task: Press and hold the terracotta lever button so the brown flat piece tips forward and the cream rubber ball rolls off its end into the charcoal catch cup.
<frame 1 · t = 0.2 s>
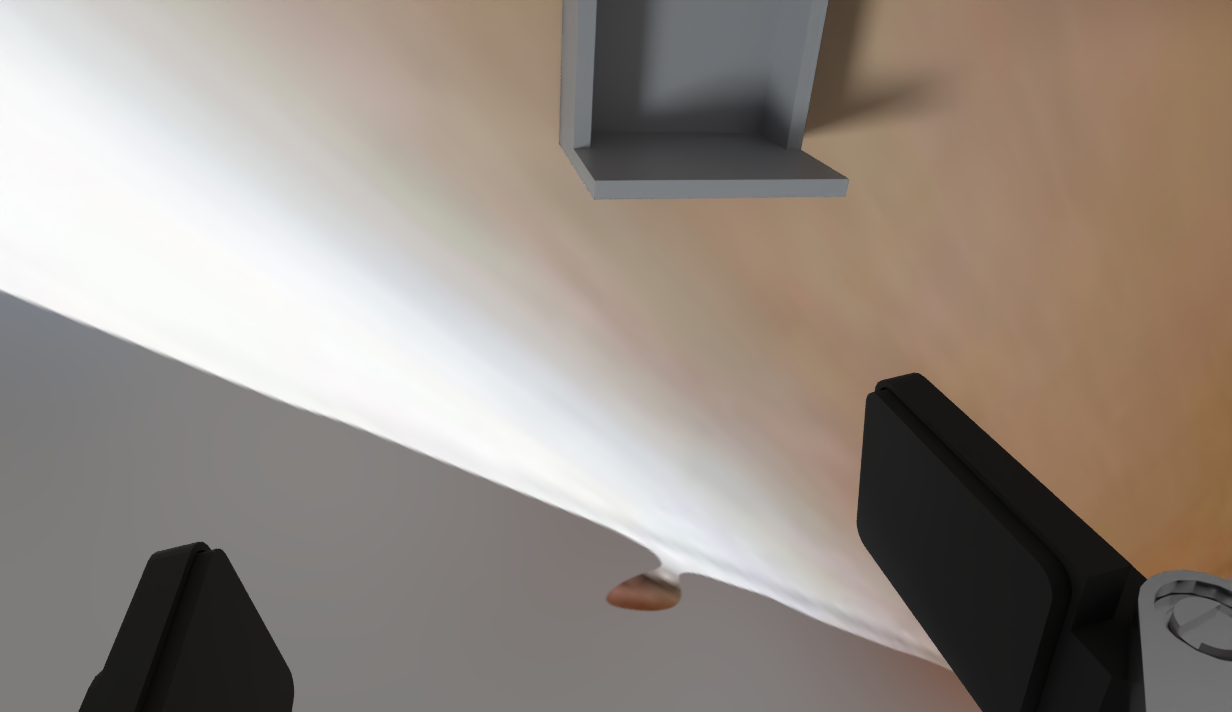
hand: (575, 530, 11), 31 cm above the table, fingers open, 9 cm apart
catch cup: (677, 27, 37), on the table
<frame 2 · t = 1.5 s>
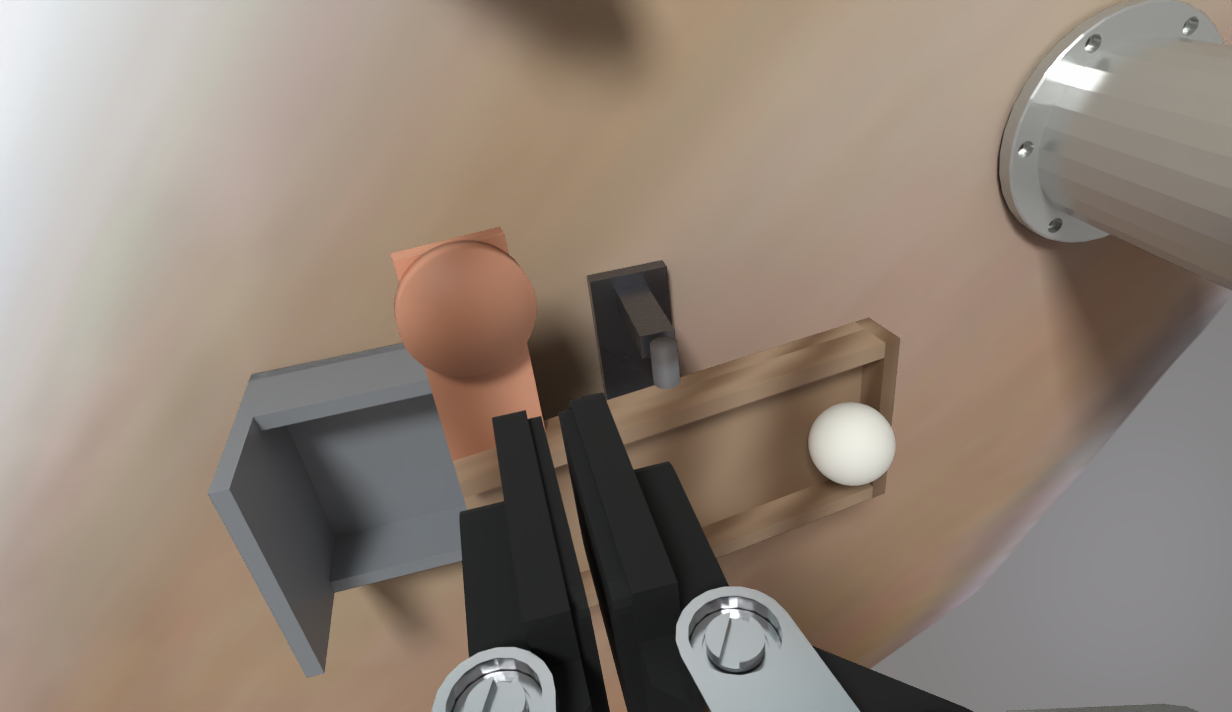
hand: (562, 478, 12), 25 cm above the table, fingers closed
catch cup: (401, 440, 40), on the table
pivot stand: (638, 386, 42), on the table
brown flat piece: (679, 411, 34), point 8 cm above the table, hinge at -8.0°, touching ball
ball: (851, 443, 36), point 9 cm above the table, tilted 17°, touching brown flat piece
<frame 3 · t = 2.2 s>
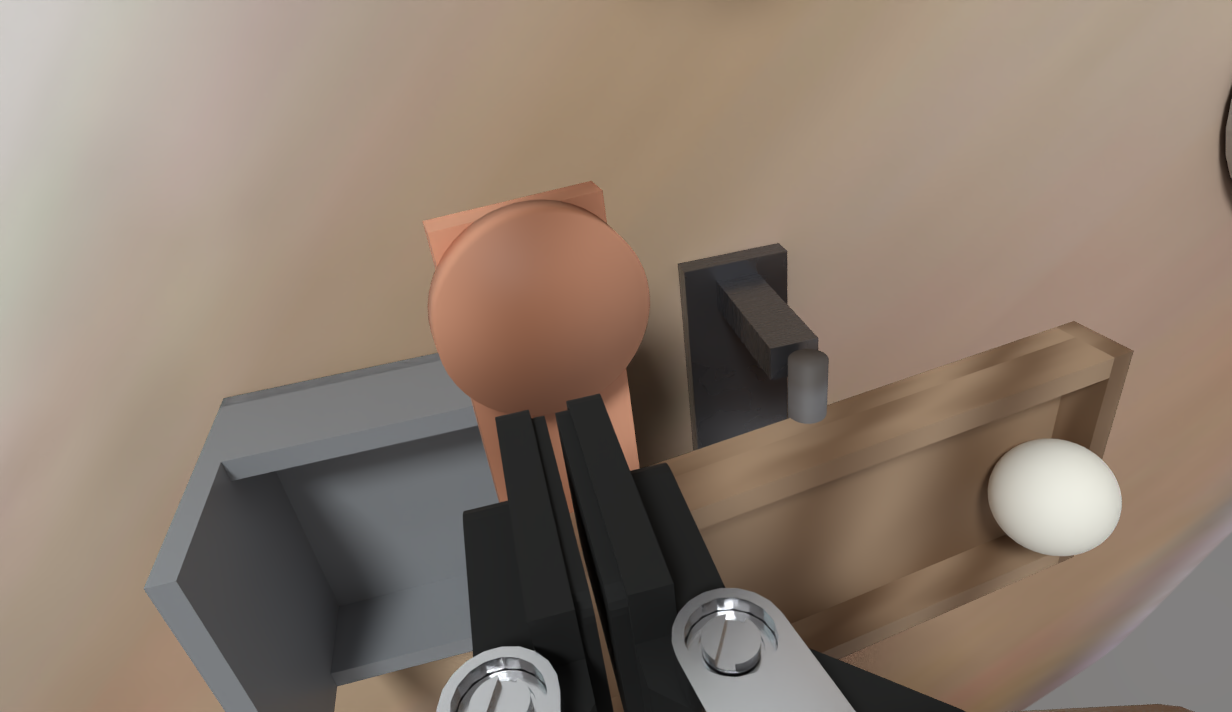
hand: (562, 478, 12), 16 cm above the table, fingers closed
catch cup: (426, 482, 31), on the table
pivot stand: (735, 410, 32), on the table
brown flat piece: (825, 455, 24), point 8 cm above the table, hinge at -8.0°, touching ball
ball: (1052, 496, 26), point 9 cm above the table, tilted 17°, touching brown flat piece
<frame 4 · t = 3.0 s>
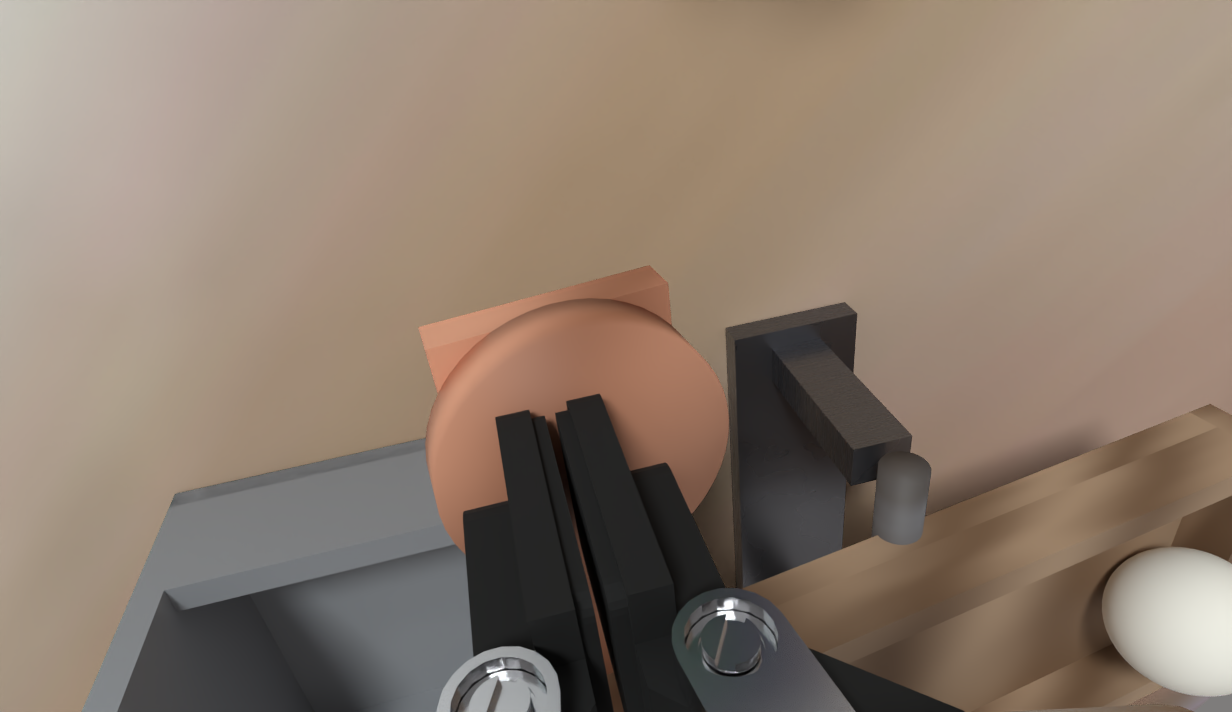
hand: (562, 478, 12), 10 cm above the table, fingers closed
catch cup: (421, 580, 26), on the table
pivot stand: (784, 490, 27), on the table
brown flat piece: (920, 581, 19), point 8 cm above the table, hinge at -7.9°, touching gripper
ball: (1185, 619, 21), point 9 cm above the table, tilted 17°
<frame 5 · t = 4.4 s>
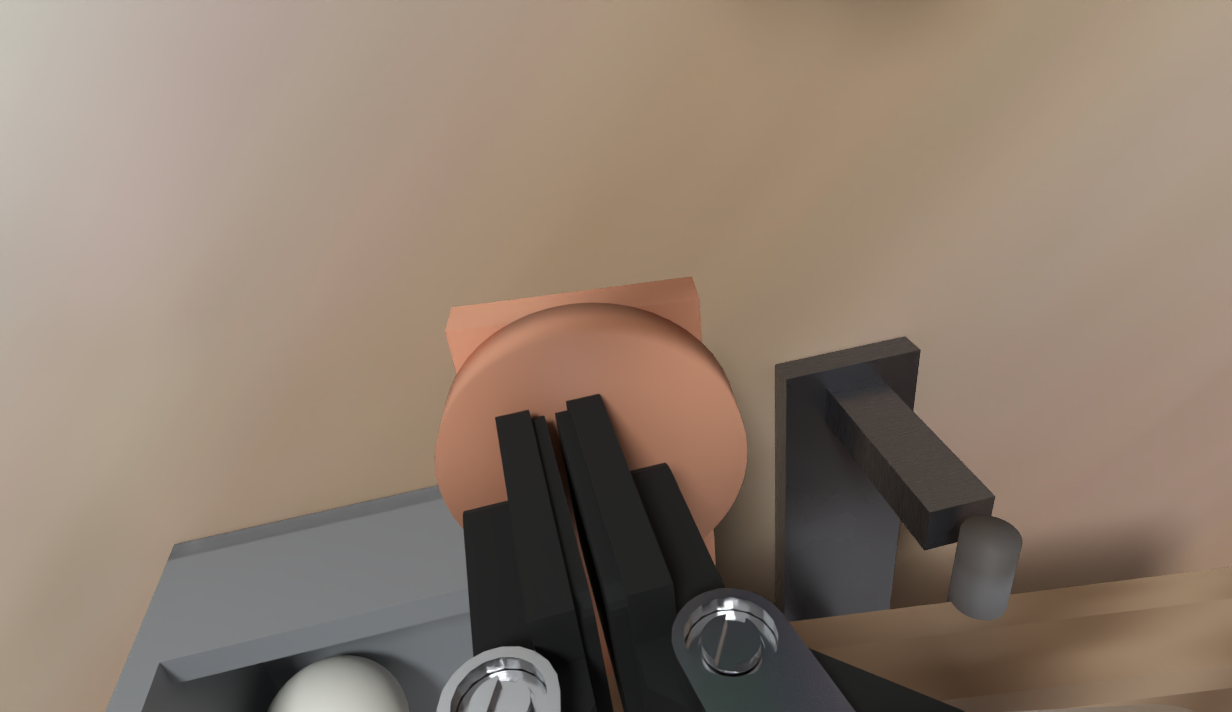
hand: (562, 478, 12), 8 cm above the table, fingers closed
catch cup: (440, 631, 24), on the table
pivot stand: (831, 534, 25), on the table
brown flat piece: (994, 663, 17), point 8 cm above the table, hinge at 8.6°, touching gripper
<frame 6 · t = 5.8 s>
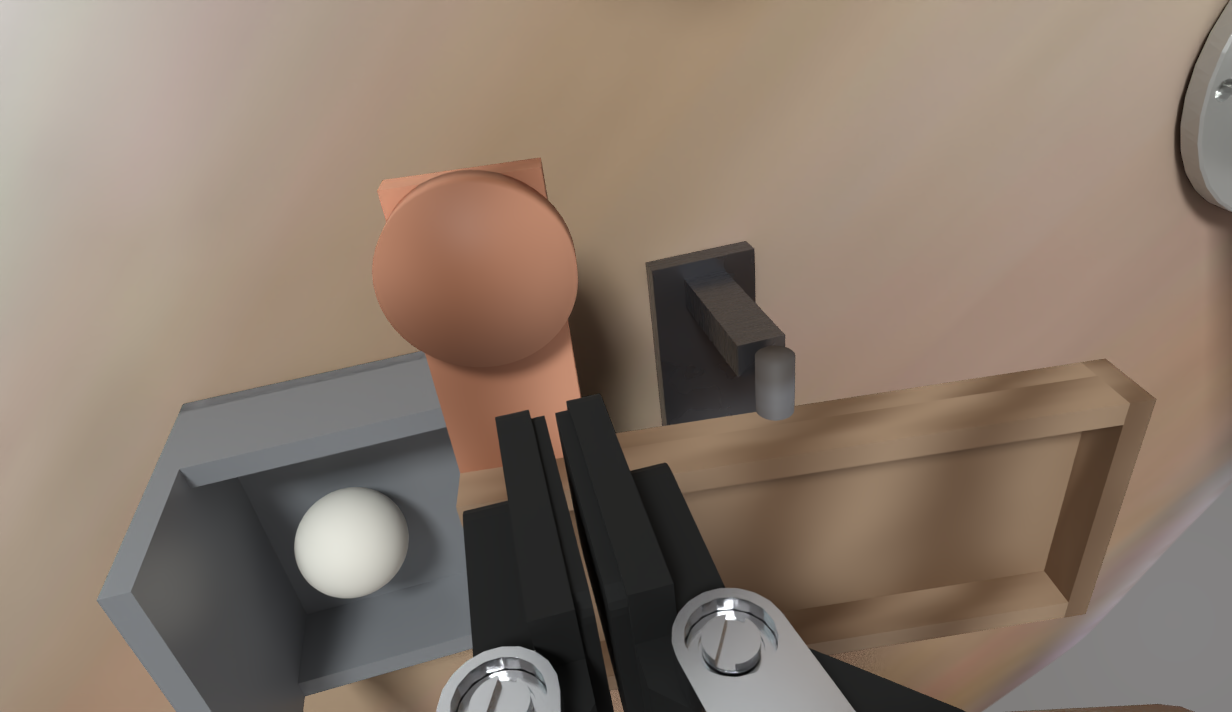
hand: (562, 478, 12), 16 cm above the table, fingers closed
catch cup: (394, 486, 30), on the table
pivot stand: (706, 409, 32), on the table
brown flat piece: (787, 454, 24), point 8 cm above the table, hinge at 8.6°
ball: (352, 541, 28), point 3 cm above the table, tilted 31°, touching catch cup
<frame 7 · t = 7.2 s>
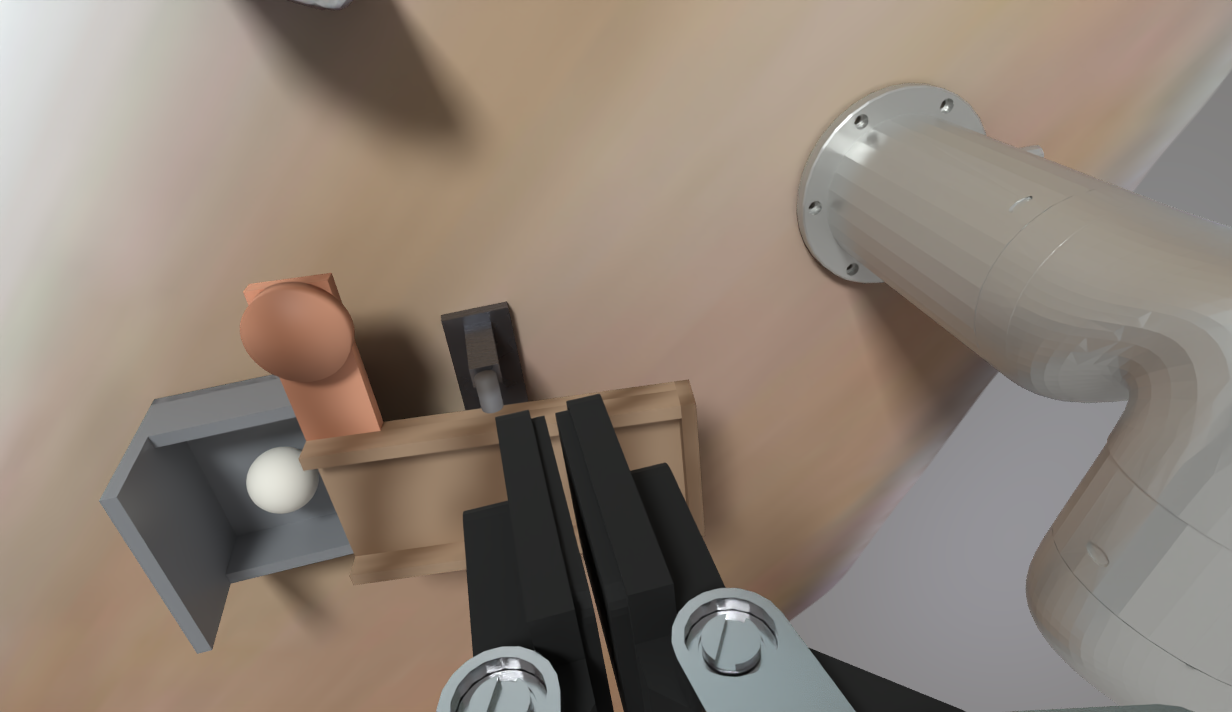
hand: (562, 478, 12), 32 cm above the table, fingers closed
catch cup: (290, 453, 47), on the table
pivot stand: (498, 407, 49), on the table
brown flat piece: (498, 433, 41), point 8 cm above the table, hinge at 8.6°
ball: (283, 479, 45), point 3 cm above the table, tilted 10°, touching catch cup
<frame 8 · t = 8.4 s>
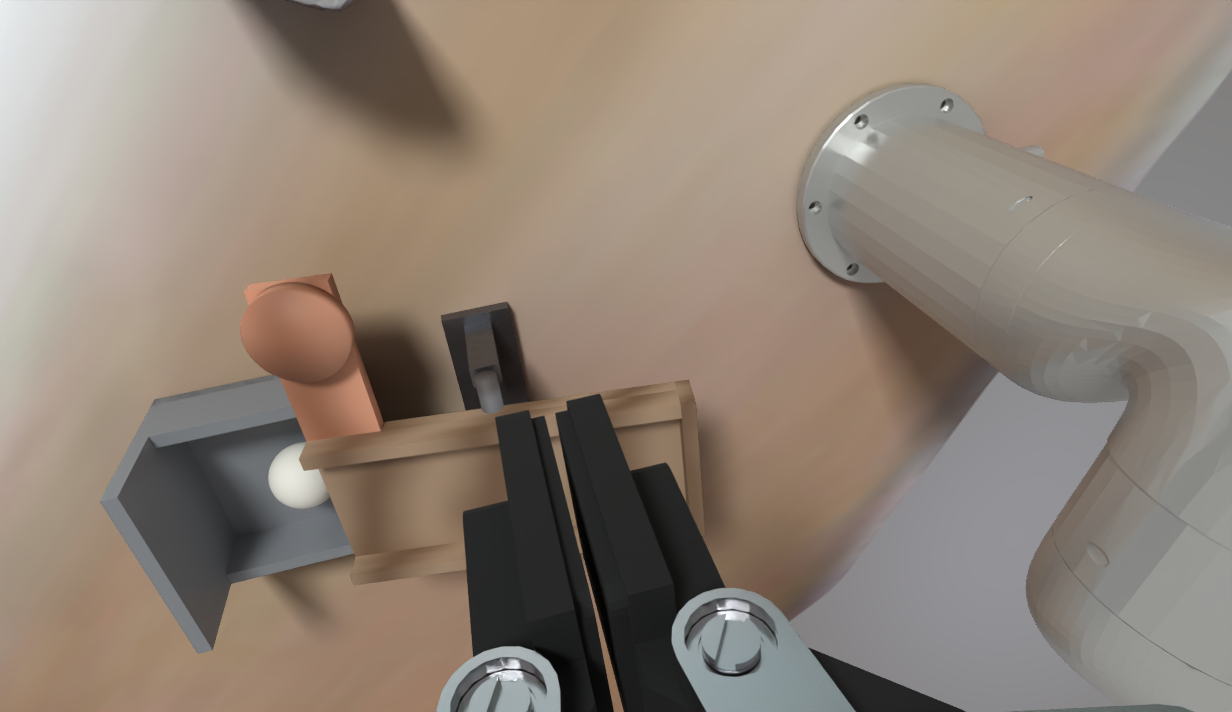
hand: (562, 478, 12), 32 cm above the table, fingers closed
catch cup: (290, 453, 47), on the table
pivot stand: (498, 407, 49), on the table
brown flat piece: (499, 433, 41), point 8 cm above the table, hinge at 8.6°
ball: (304, 475, 45), point 3 cm above the table, tilted 46°, touching catch cup
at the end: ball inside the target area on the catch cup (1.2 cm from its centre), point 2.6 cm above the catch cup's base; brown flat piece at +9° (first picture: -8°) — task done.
